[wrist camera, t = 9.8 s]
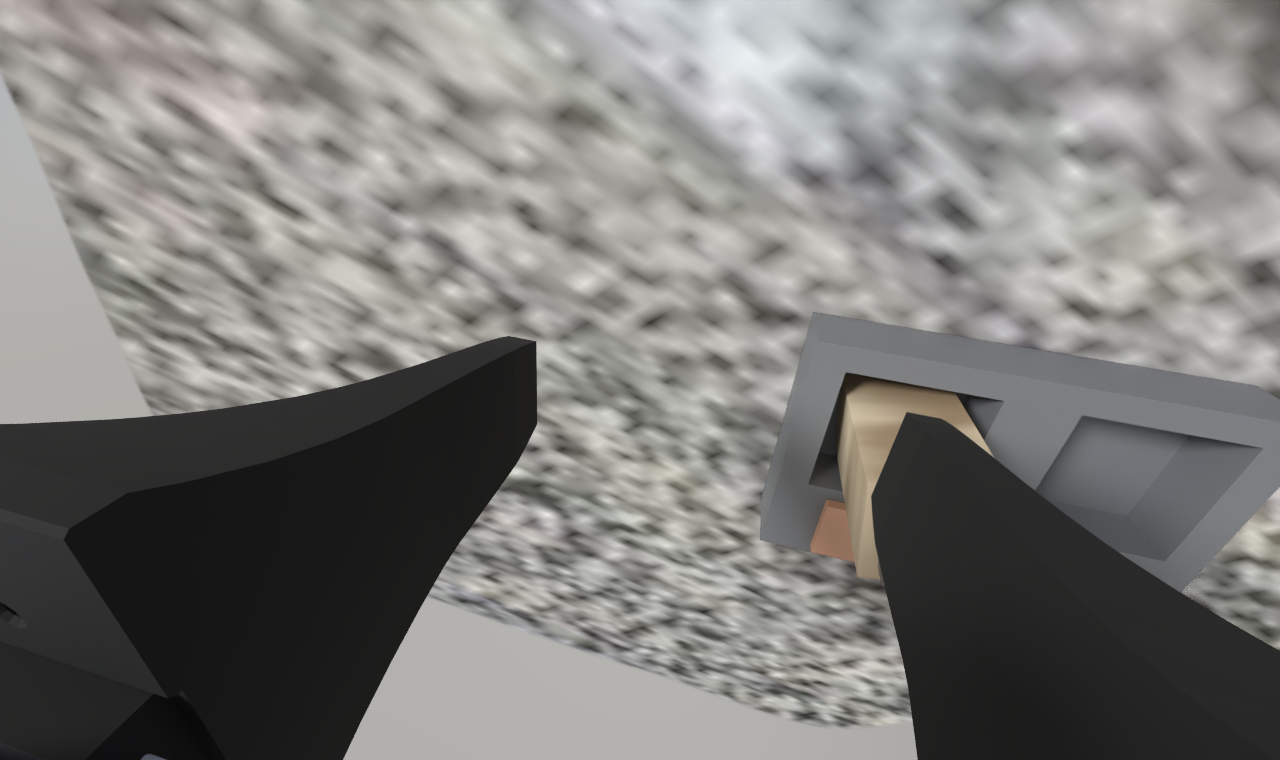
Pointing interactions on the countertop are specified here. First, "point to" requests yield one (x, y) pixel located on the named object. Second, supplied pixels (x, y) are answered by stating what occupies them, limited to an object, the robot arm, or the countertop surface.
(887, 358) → the port board
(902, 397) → the plug
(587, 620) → the countertop surface
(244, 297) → the countertop surface
